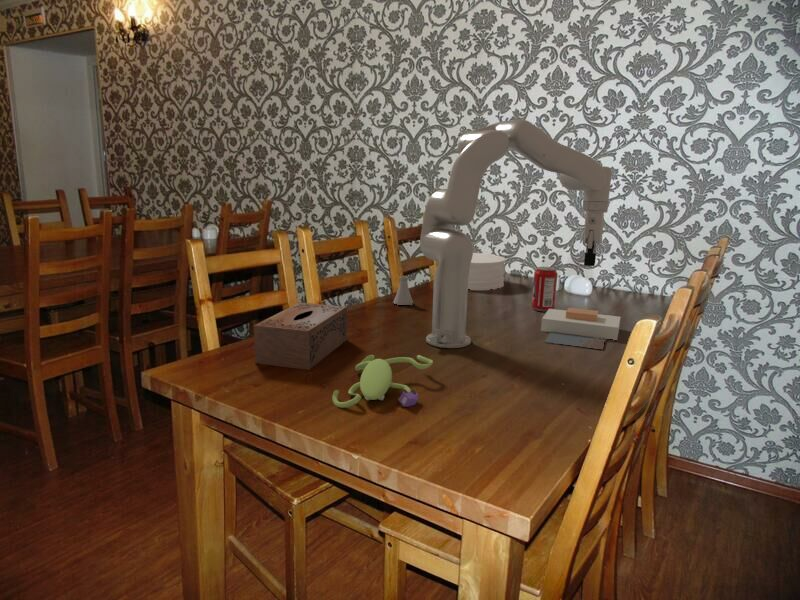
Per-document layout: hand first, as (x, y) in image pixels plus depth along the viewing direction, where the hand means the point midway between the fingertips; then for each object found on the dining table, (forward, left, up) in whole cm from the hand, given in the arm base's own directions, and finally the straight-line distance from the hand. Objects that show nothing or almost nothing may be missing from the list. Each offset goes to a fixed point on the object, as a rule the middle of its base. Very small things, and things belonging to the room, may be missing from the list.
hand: (589, 265), depth 181 cm
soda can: (+12, +15, -19) cm, 27 cm away
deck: (-9, 0, -19) cm, 21 cm away
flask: (-4, +62, -19) cm, 65 cm away
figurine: (-79, +35, -20) cm, 89 cm away
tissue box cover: (-65, +65, -20) cm, 94 cm away
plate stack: (+45, +51, -20) cm, 71 cm away
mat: (-22, 0, -19) cm, 29 cm away
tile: (-9, 0, -15) cm, 18 cm away
